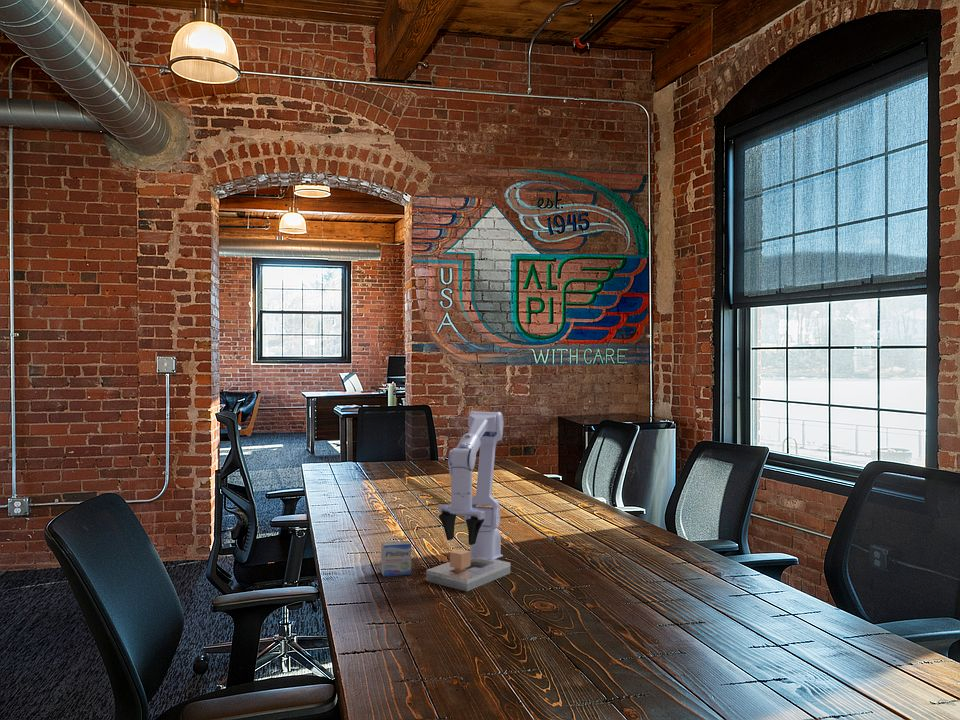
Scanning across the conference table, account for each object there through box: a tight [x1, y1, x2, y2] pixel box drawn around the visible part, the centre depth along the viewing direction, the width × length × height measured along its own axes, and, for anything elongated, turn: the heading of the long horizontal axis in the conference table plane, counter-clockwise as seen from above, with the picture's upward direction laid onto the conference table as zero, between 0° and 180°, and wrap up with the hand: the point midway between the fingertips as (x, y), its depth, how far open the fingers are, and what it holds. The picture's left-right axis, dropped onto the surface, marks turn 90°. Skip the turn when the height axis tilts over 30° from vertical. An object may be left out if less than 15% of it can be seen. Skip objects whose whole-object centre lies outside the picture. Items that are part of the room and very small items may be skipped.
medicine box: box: [380, 540, 412, 577], centre depth 210 cm, size 8×4×9 cm, turn 105°
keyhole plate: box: [425, 554, 511, 592], centre depth 207 cm, size 20×14×3 cm
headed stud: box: [449, 548, 471, 573], centre depth 204 cm, size 5×5×8 cm
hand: (461, 541), depth 205 cm, fingers open, 7 cm apart
